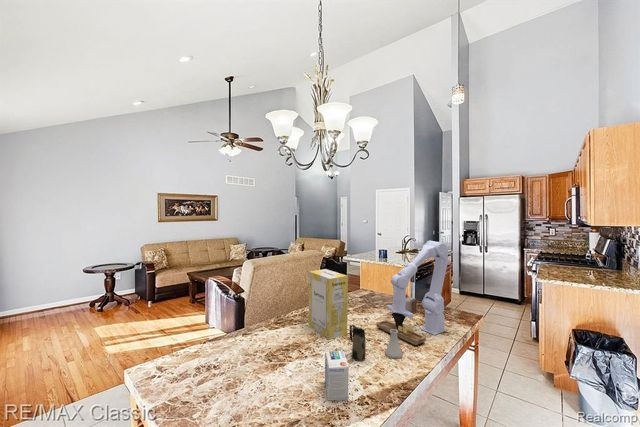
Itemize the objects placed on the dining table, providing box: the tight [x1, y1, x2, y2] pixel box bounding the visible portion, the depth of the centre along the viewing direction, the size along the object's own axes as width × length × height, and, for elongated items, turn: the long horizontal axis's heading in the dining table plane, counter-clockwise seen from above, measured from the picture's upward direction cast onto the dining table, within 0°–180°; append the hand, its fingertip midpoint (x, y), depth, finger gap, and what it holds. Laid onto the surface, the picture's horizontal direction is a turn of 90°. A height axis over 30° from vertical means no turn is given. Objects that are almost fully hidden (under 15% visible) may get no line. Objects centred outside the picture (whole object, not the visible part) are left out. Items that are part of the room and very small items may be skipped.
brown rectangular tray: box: [375, 319, 427, 346], centre depth 138 cm, size 8×24×3 cm, turn 33°
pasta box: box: [308, 268, 349, 340], centre depth 145 cm, size 18×10×28 cm, turn 34°
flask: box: [384, 329, 404, 360], centre depth 120 cm, size 7×7×10 cm
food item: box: [405, 293, 418, 315], centre depth 172 cm, size 14×8×10 cm, turn 44°
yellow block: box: [398, 323, 414, 336], centre depth 136 cm, size 4×5×4 cm
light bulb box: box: [324, 350, 350, 401], centre depth 97 cm, size 11×7×11 cm, turn 5°
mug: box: [348, 324, 367, 362], centre depth 119 cm, size 8×6×12 cm
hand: (399, 328), depth 139 cm, fingers closed
